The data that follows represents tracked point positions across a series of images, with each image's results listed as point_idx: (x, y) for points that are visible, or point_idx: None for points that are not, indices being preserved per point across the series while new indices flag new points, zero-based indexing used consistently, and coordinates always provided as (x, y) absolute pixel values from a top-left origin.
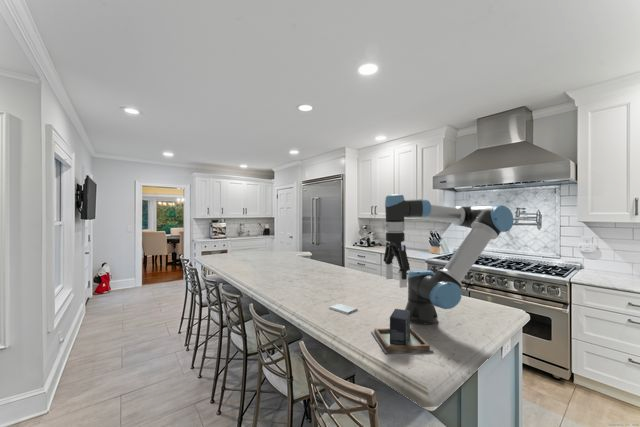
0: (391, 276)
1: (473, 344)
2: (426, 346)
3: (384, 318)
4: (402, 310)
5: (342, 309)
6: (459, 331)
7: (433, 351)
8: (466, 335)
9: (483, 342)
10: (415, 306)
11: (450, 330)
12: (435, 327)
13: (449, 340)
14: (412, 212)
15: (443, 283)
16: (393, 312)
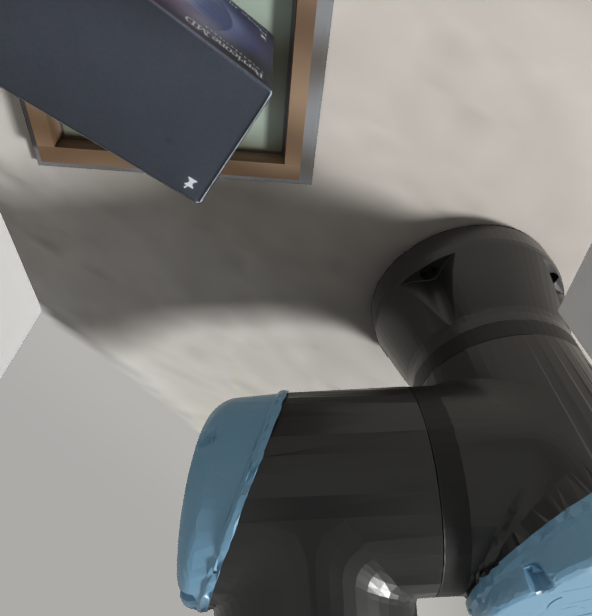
0: (588, 325)
1: (151, 354)
2: (38, 140)
3: (567, 87)
4: (202, 139)
5: None
6: (274, 370)
7: (39, 163)
8: (234, 372)
9: (170, 389)
10: (453, 317)
11: (290, 347)
12: (334, 310)
13: (188, 296)
14: None
15: (200, 578)
16: (153, 12)
